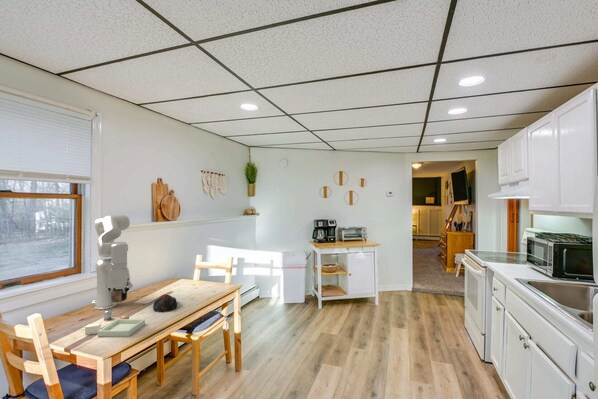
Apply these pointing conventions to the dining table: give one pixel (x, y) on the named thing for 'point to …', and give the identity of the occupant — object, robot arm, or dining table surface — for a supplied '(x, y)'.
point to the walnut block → (116, 295)
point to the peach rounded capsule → (124, 317)
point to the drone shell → (165, 303)
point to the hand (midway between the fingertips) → (119, 299)
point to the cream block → (92, 328)
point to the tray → (121, 327)
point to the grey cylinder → (107, 315)
